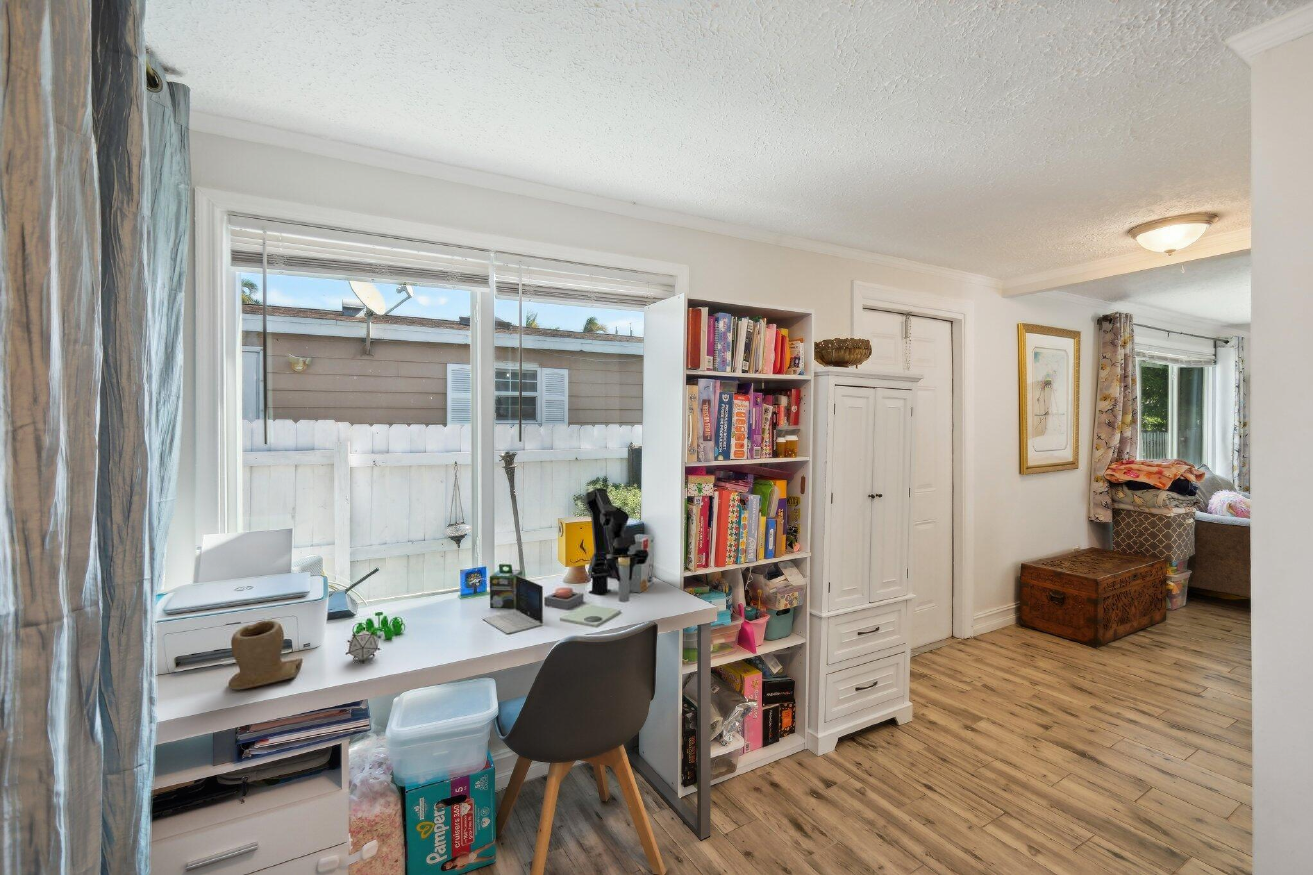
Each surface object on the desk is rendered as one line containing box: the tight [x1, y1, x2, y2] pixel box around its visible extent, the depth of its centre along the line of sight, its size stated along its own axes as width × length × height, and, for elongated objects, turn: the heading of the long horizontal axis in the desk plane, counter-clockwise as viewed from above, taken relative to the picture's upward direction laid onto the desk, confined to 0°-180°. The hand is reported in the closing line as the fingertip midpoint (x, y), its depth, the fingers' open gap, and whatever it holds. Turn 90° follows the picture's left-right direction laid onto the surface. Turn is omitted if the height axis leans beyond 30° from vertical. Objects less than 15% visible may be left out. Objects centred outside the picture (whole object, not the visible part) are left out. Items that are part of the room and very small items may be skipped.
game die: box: [345, 626, 382, 664], centre depth 154 cm, size 9×8×10 cm
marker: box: [617, 557, 630, 603], centre depth 187 cm, size 4×4×14 cm
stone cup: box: [228, 619, 303, 691], centre depth 140 cm, size 15×12×15 cm
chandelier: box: [351, 611, 406, 640], centre depth 172 cm, size 15×15×7 cm
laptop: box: [482, 575, 544, 634], centre depth 184 cm, size 18×12×13 cm
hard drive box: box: [628, 533, 655, 593], centre depth 225 cm, size 16×8×20 cm, turn 161°
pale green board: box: [559, 604, 622, 628], centre depth 190 cm, size 16×14×1 cm
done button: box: [555, 587, 574, 599], centre depth 203 cm, size 6×6×2 cm
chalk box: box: [489, 563, 523, 610], centre depth 202 cm, size 9×9×15 cm
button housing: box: [543, 591, 584, 611], centre depth 203 cm, size 10×10×3 cm
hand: (625, 580), depth 185 cm, fingers closed on marker, 4 cm apart
